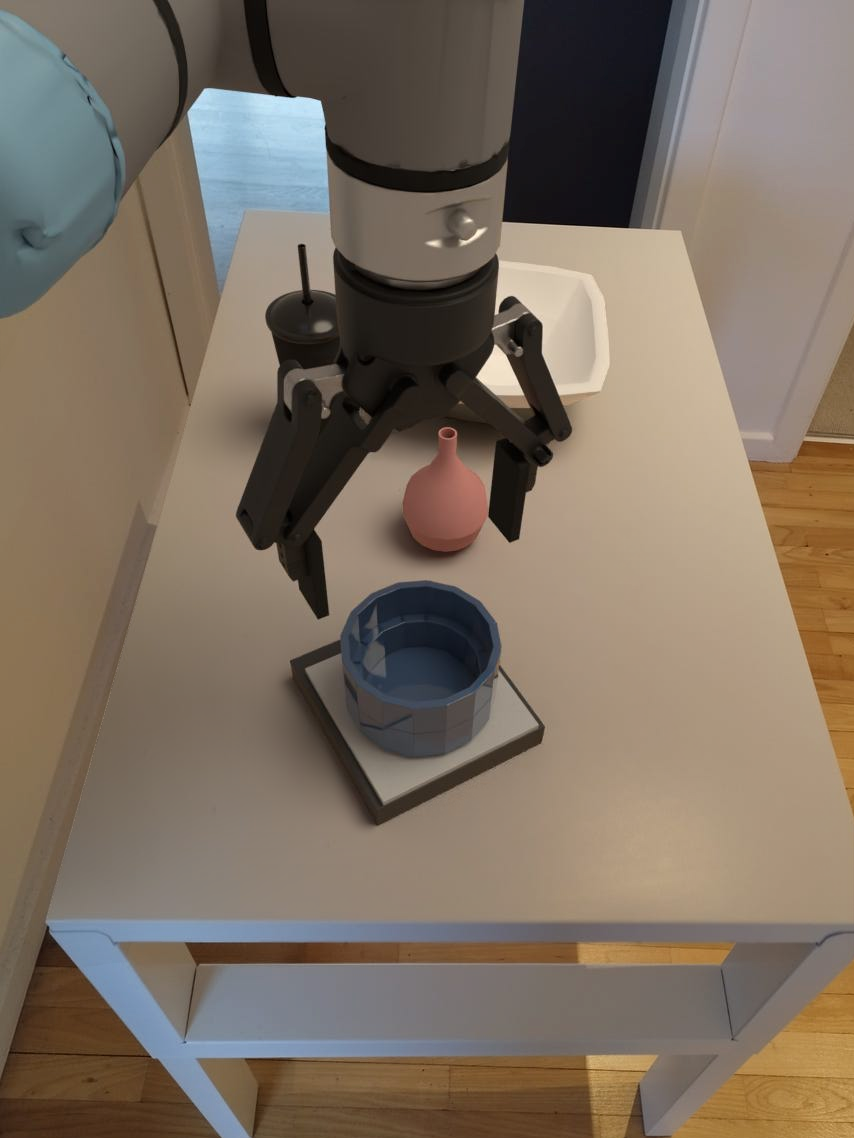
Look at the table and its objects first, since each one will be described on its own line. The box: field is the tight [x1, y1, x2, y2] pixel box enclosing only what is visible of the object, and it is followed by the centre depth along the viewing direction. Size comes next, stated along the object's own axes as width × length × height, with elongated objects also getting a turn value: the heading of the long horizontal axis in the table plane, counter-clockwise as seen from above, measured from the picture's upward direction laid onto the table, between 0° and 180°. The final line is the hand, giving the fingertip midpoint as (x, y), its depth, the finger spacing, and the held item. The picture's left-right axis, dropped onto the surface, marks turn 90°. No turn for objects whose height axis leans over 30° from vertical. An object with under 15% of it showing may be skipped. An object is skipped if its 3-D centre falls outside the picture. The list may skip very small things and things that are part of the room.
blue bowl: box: [339, 579, 503, 757], centre depth 67 cm, size 11×11×7 cm
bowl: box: [445, 259, 611, 425], centre depth 94 cm, size 22×23×8 cm
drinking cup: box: [264, 243, 341, 439], centre depth 84 cm, size 8×8×20 cm
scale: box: [289, 639, 546, 826], centre depth 71 cm, size 15×14×3 cm
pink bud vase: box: [402, 426, 489, 553], centre depth 79 cm, size 8×8×12 cm
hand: (412, 563), depth 58 cm, fingers open, 13 cm apart
